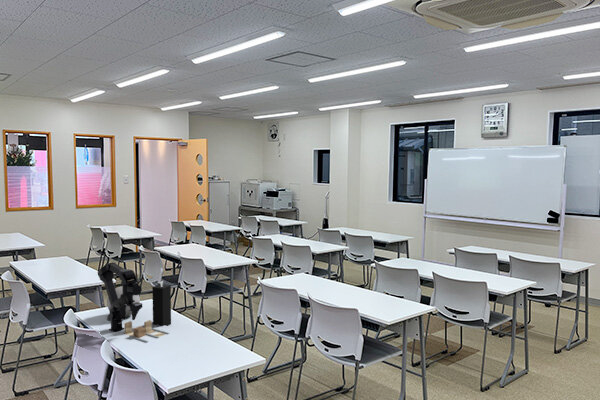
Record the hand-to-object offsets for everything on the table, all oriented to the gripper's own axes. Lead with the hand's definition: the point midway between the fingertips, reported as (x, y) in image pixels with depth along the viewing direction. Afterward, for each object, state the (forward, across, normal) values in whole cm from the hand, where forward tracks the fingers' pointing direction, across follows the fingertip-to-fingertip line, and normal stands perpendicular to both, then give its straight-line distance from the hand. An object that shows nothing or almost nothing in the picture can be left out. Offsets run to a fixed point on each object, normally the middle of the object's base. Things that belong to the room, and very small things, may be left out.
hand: (128, 318), depth 263 cm
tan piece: (+10, +6, 0) cm, 11 cm away
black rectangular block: (+10, +3, +22) cm, 24 cm away
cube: (+8, +10, 0) cm, 13 cm away
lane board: (+10, +14, +4) cm, 17 cm away
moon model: (+10, -31, +20) cm, 38 cm away
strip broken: (+10, +13, +8) cm, 18 cm away
